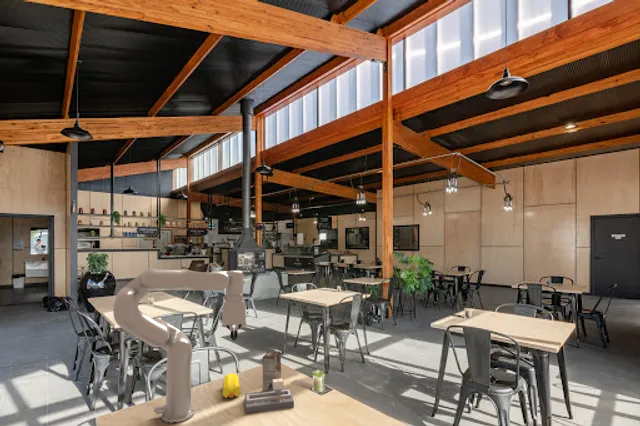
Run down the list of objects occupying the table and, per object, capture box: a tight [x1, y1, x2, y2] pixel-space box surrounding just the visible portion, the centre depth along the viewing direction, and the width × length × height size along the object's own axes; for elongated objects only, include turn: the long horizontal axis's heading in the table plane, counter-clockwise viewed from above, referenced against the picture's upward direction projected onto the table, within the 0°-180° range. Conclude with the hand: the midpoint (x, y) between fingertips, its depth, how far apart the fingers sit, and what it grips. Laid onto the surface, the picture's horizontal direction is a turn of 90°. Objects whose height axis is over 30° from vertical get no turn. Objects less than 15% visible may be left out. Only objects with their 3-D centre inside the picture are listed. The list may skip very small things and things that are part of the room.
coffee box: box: [262, 350, 282, 391], centre depth 167 cm, size 9×6×16 cm
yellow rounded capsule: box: [222, 372, 241, 399], centre depth 163 cm, size 18×7×8 cm
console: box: [244, 387, 295, 414], centre depth 152 cm, size 20×13×3 cm, turn 104°
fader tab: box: [273, 377, 285, 396], centre depth 153 cm, size 4×3×6 cm
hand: (233, 339), depth 155 cm, fingers closed
